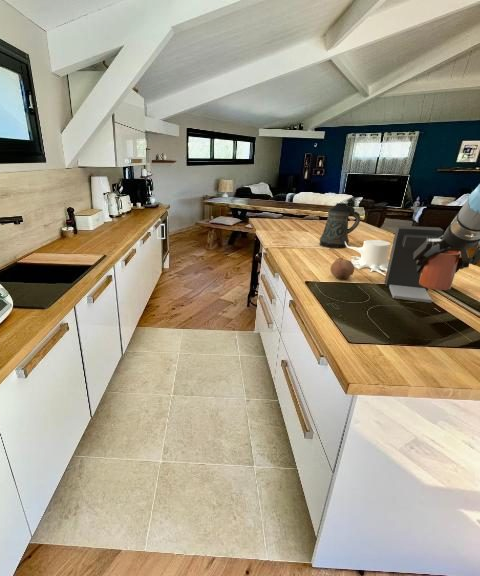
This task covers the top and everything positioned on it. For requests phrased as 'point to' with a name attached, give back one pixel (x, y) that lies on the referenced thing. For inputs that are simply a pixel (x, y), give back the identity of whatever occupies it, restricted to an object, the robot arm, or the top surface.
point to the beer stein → (338, 226)
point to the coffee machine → (408, 263)
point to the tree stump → (372, 255)
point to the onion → (342, 268)
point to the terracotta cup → (440, 271)
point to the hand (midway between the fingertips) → (434, 270)
